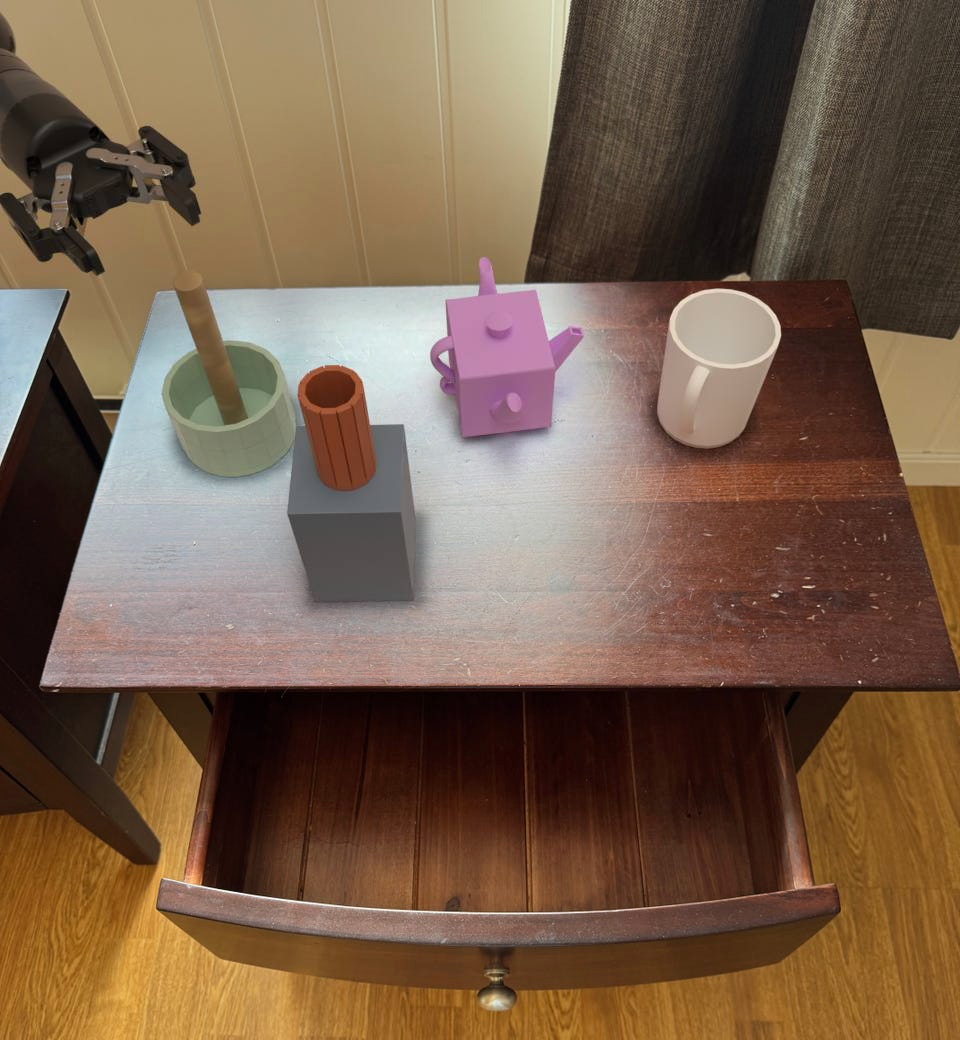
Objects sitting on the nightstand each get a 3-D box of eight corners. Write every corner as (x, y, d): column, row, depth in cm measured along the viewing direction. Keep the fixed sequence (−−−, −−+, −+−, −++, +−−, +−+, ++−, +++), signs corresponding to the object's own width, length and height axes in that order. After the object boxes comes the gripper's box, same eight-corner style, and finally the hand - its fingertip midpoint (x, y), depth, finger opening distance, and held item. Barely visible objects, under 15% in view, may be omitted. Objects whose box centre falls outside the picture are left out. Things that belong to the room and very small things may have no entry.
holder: (314, 602, 78) (262, 438, 61) (321, 521, 82) (273, 344, 64) (413, 600, 78) (390, 435, 60) (415, 519, 82) (393, 342, 64)
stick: (229, 437, 85) (177, 294, 71) (222, 420, 86) (168, 275, 72) (253, 429, 86) (205, 284, 72) (245, 412, 87) (197, 266, 73)
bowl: (175, 479, 84) (153, 433, 79) (190, 389, 89) (171, 341, 84) (291, 476, 84) (278, 430, 79) (300, 387, 89) (288, 338, 84)
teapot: (596, 469, 84) (608, 390, 76) (446, 488, 83) (441, 410, 75) (559, 322, 93) (565, 236, 84) (423, 338, 92) (415, 253, 83)
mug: (674, 365, 90) (694, 275, 81) (765, 399, 88) (796, 310, 79) (625, 447, 85) (641, 361, 76) (721, 484, 83) (748, 401, 74)
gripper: (-59, 132, 74) (43, 239, 68) (103, 59, 79) (212, 154, 73) (-14, 216, 81) (83, 321, 75) (134, 144, 85) (236, 238, 79)
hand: (146, 238), depth 74 cm, fingers open, 8 cm apart
